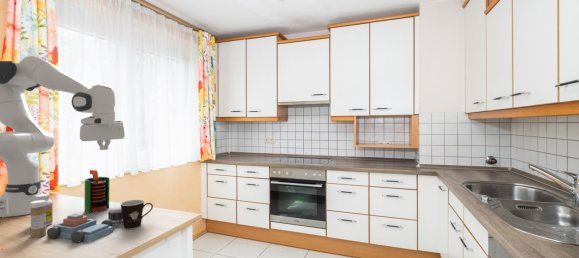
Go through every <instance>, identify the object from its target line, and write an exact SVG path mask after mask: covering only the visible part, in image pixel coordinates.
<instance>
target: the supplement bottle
mask: <svg viewBox="0 0 579 258" xmlns="http://www.w3.org/2000/svg"><path fill="white" fill-rule="evenodd" d="M50 197H51V196H50V193H43V194H39V195H36V196H35V200H36V201H37V200H45V201H46V207H45V210H46V227H47V226H50V225H52V223H53V210H54V209H53V208H54V207H53V204H54V203H53V200H51V199H50Z"/></svg>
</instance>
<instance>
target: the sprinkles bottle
mask: <svg viewBox="0 0 579 258" xmlns="http://www.w3.org/2000/svg"><path fill="white" fill-rule="evenodd" d="M45 207H46V201H45V200H37V201H33V202H31V203H30V208H31V213H30V237H31V238H34V239H35V238H41V237H44V236H45V235H47V231H46V229H47V226H46V210H45Z"/></svg>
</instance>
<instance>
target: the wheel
mask: <svg viewBox="0 0 579 258" xmlns="http://www.w3.org/2000/svg"><path fill="white" fill-rule="evenodd" d="M107 213H108V217H107V219H110V220H120V219H123V217H122V210H121V205H119V206H113V207H109V208H108V212H107Z"/></svg>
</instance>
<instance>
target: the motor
mask: <svg viewBox="0 0 579 258" xmlns="http://www.w3.org/2000/svg"><path fill="white" fill-rule="evenodd" d="M89 175H91V176H92V177H88V178H85V179H84V214H92V213H101V212H104V211H106V210H107V209H110V177H109V176H99V174H98V170H97V169H89Z"/></svg>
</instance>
